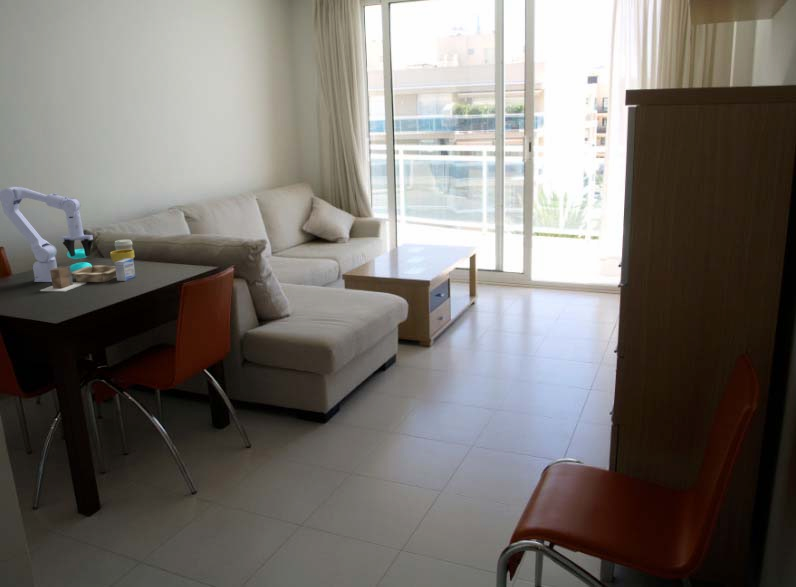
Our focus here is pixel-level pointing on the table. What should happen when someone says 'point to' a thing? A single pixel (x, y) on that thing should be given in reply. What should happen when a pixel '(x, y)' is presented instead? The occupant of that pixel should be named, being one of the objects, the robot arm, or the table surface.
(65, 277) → the walnut box
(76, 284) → the felt mat
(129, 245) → the coffee cup
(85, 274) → the carton
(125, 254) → the plant pot
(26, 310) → the table surface
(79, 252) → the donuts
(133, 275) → the medicine box
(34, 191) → the robot arm
